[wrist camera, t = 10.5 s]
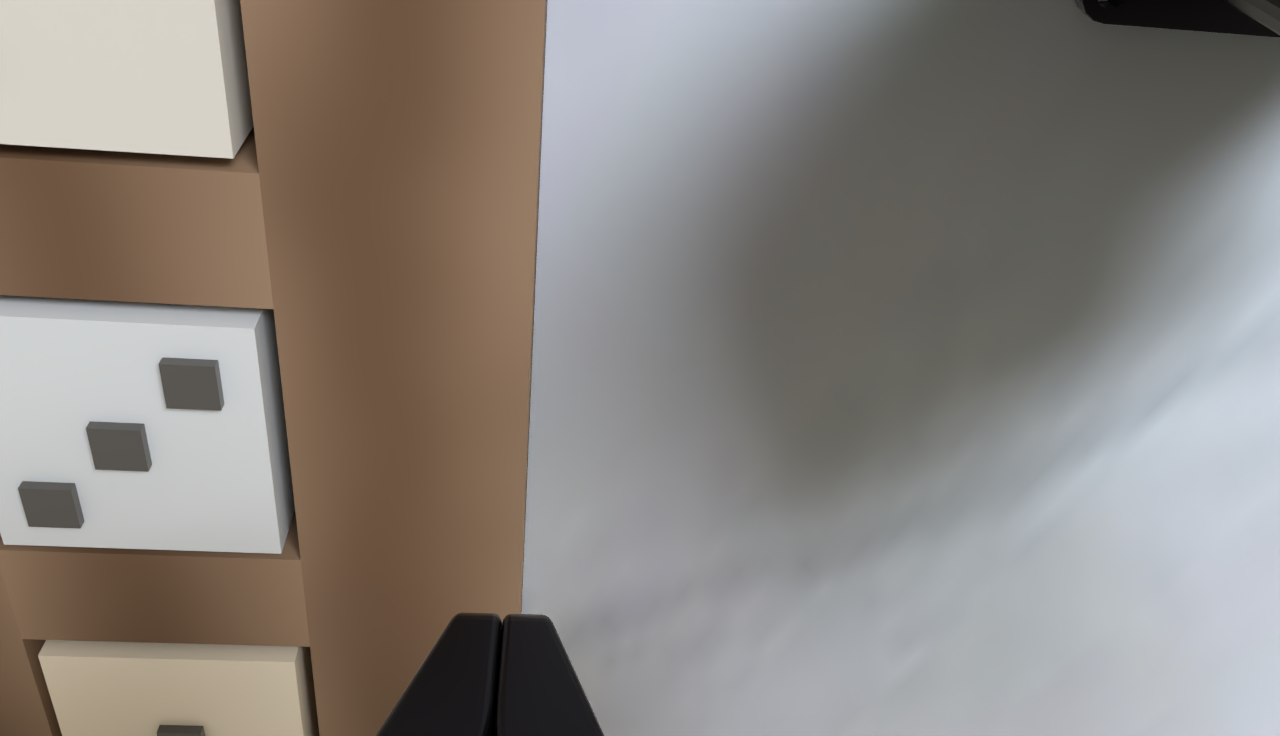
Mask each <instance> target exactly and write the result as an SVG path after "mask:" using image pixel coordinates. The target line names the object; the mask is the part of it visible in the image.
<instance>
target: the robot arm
mask: <svg viewBox="0 0 1280 736" xmlns="http://www.w3.org/2000/svg"><path fill="white" fill-rule="evenodd" d="M1075 1H1076V4H1077V6H1078V7H1079V8H1080V9H1081V10H1082V11H1083V12H1084V13H1085V14H1086V15H1087V16H1088V17H1090V18H1091V19H1092V20H1094V21H1097V22H1100V23H1103V24H1116V25H1129V26H1141V27H1154V28H1167V29H1180V30H1193V31H1205V32H1218V33H1231V34H1244V35H1257V36H1269V37H1280V0H1107V1H1102V2H1098V0H1075ZM376 736H604V734H603V732H602V730H601V728H600V726H599V723H598V721H597V719H596V717H595V715H594V712H593V710H592V708H591V706H590V704H589V701H588V699H587V697H586V695H585V693H584V690H583V688H582V686H581V684H580V682H579V680H578V677H577V675H576V673H575V671H574V669H573V666H572V664H571V662H570V660H569V658H568V655H567V653H566V651H565V649H564V647H563V644H562V642H561V640H560V638H559V636H558V634H557V631H556V629H555V627H554V625H553V623H552V621H551V620H550V619H549V618H548V617H547V616H545V615H531V614H508V615H507V616H505V617H504V619H503V622H502V620H501V618H500V616H498V615H497V614H494V613H458V614H456V615H455V616H454V617H453V618H452V619H451V620H450V622H449V623H448V625H447V626H446V628H445V629H444V631H443V633H442V634H441V636H440V637H439V639H438V640H437V642H436V643H435V645H434V646H433V648H432V649H431V651H430V653H429V654H428V656H427V657H426V659H425V660H424V662H423V663H422V665H421V666H420V668H419V670H418V671H417V673H416V674H415V676H414V677H413V679H412V680H411V682H410V683H409V685H408V686H407V688H406V690H405V691H404V693H403V694H402V696H401V697H400V699H399V700H398V702H397V703H396V705H395V706H394V708H393V710H392V711H391V713H390V714H389V716H388V717H387V719H386V720H385V722H384V723H383V725H382V727H381V728H380V730H379V731H378V733H377V734H376Z"/></svg>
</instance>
